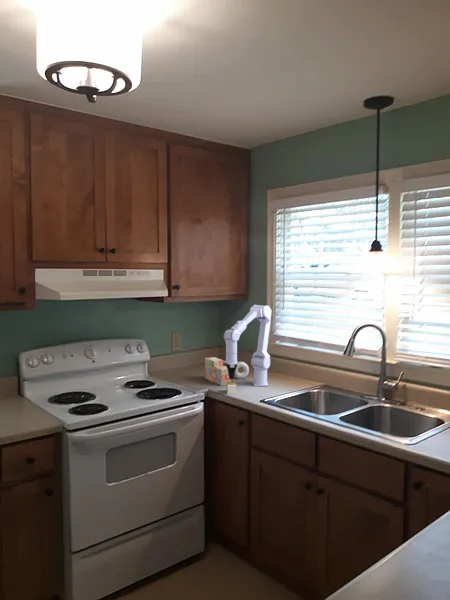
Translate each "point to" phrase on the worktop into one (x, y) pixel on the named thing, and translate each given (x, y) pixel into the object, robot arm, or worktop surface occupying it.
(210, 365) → the stack of blocks
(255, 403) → the worktop surface
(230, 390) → the walnut block
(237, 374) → the donut
